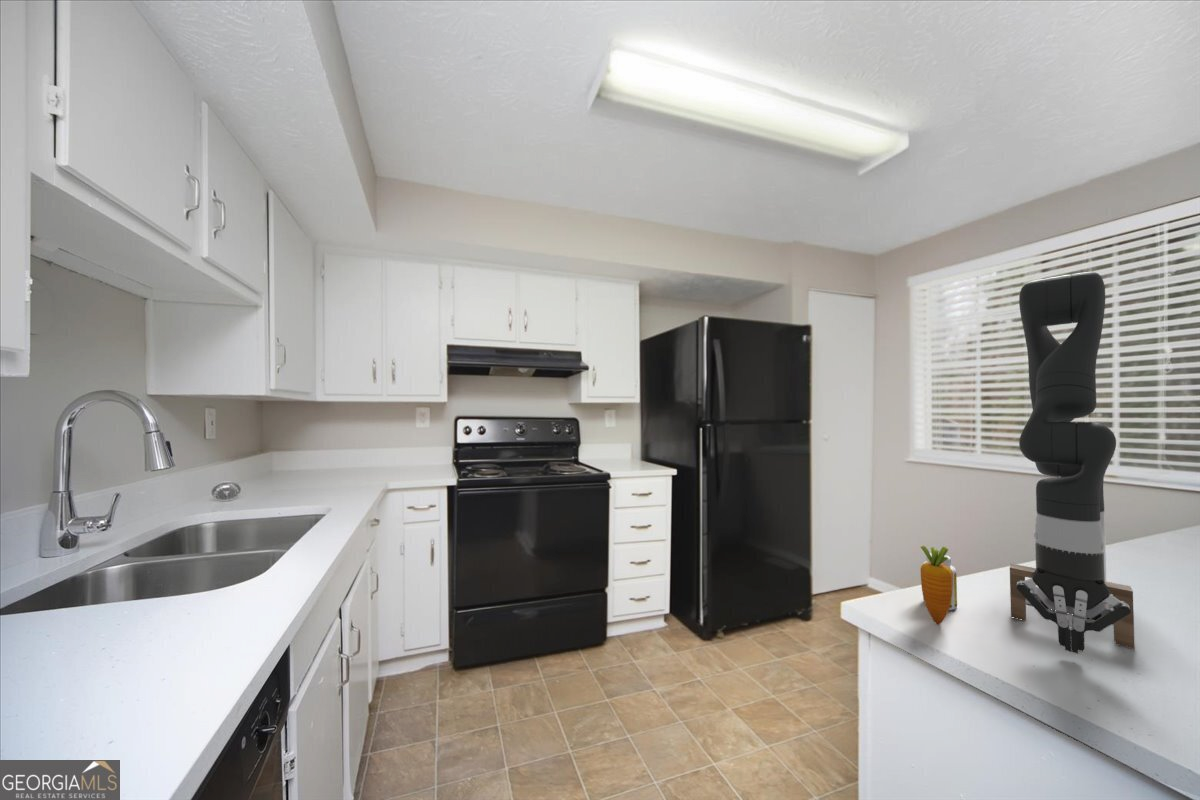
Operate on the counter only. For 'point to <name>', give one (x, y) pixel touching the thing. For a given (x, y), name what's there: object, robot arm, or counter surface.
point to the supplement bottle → (954, 591)
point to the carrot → (936, 584)
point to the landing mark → (1051, 605)
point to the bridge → (1119, 591)
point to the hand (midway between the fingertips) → (1071, 649)
